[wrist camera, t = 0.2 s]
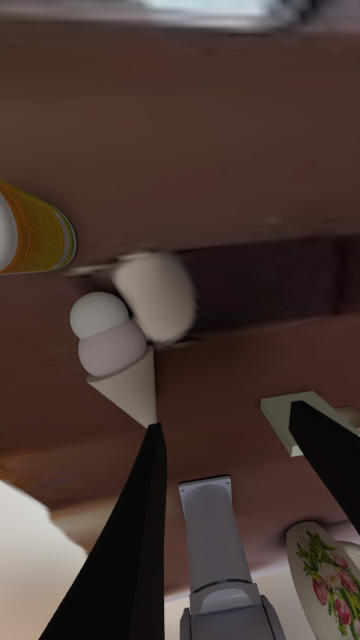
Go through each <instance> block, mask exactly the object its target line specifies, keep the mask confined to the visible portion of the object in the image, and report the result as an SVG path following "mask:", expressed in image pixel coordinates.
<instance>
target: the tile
mask: <svg viewBox="0 0 360 640" xmlns="http://www.w3.org/2000/svg"><path fill="white" fill-rule="evenodd" d="M299 400H303V401H305V402H306V403H308V404H309V405H311V406H313V407H314V408H316V409H317V410H319V411H320V412H322V413H323V414H325V415H326V416H328V417H330V418H331V419H333V420H334V421H336V422H337V423H339V424H341V425H342V426H344V427H345V428H347V429H348V430H350V431H352V432H353V433H355V434H356V435H358V436H360V432H359V431H358V430H357V429H356V428H355V427H353V426H352V425H351V424H350V423H349V422H348V421H347V420H346V419H344V418H343V417H342V416H341V415H340V414H339V413H338V412H336V411H335V410H334V409H333V408H332V407H331V406H330V405H329V404H327V403H326V402H325V401H324V400H323V399H322V398H321V397H320V396H318V395H317V394H316V393H315V392H314V391H310V392H303V393H297V394H290V395H284V396H278V397H271V398H265V399H261V406H260V408H261V410H262V411H263V413H264V414H265V416H266V418H267V419H268V421H269V422H270V424H271V425H272V427H273V429H274V430H275V432H276V433H277V435H278V436H279V438H280V440H281V441H282V443H283V444H284V446H285V447H286V449H287V451H288V452H289V454H290V455H291V457H292V456H299V455H303V453H302V452H301V450H300V449H299V447H298V445H297V444H296V442H295V440H294V438H293V437H292V435H291V433H290V431H289V430H288V427H289V417H290V408H291V402H292V401H299Z"/></svg>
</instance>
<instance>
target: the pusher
mask: <svg viewBox="0 0 360 640" xmlns="http://www.w3.org/2000/svg"><path fill="white" fill-rule="evenodd" d="M334 410H335V411H336V412H338V413H339V414H340V415H341V416H342V417H343V418H344V419H346V420H347V421H348V422H349V423H350V424H351V425H352V426H353V427H355V428H356V429H357V430H358V431H359V432H360V412H359V411H357V410H356V409H355V408H353V407H352V406H350V407H343V408H337V409H334Z"/></svg>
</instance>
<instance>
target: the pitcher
mask: <svg viewBox="0 0 360 640" xmlns="http://www.w3.org/2000/svg"><path fill="white" fill-rule="evenodd" d="M286 537H287V538H286V548H287V556H288V562H289V566H290V570H291V574H292V578H293V582H294V585H295V588H296V591H297V594H298V597H299V600H300V602H301V605H302V608H303V610H304V613H305V615H306V617H307V620H308V622H309V624H310V627H311V628H312V630H313V632H314V635H315V637H316V639H317V640H360V570H359V569H358V567H357V566H356V565H355V564H354V562H353V561H352V560H351V558H350V557H349V556H348V554H356V555H358V556H360V545H358V544H355V543H352V542H347V541H337V540H335V539H334V538H333V537H332V536H331V535H330V534H329V533H328V532H327V531H326V530H324V529H323V528H322V527H320V526H319V525H318V524H317V523H315V522H302V523H299V524H296V525H294V526H293V527H291V528H290V529H289V530H288V531H287V533H286Z"/></svg>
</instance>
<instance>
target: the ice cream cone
mask: <svg viewBox="0 0 360 640" xmlns="http://www.w3.org/2000/svg"><path fill="white" fill-rule="evenodd" d="M70 323H71V327H72V329H73V331H74V332H75V334H76V335H77V336H78V337H79V338H80V342H79V348H78V351H79V358H80V360H81V363H82V365H83V366H84V368H85V369H86V370H87V371H88V372H89V373H90V374H89V376H88V377H87V379H86V380H87V382H88V383H89V384H91V385H92V386H93V387H94V388H96V389H97V390H98V391H100V392H101V393H102V394H103V395H105V396H106V397H107V398H109V399H110V400H111V401H112V402H114V403H115V404H116V405H117V406H119V407H120V408H121V409H123V410H124V411H125V412H126V413H128V414H129V415H130V416H131V417H133V418H134V419H135V420H137V421H138V422H139V423H140V424H142V425H143V426H144V427H146V428H147V427H148V425H149V424H155V423H157V418H156V397H155V377H154V356H153V347H152V346H150V345H147V344H146V338H145V335H144V333H143V331H142V329H141V328H140V327H139V326H138V324H136V323H135V322H134V321H132V320H130V319H129V314H128V311H127V308H126V306H125V305H124V303H123V302H122V301H121V300H120V299H119V298H117V297H116V296H114V295H112V294H109V293H106V292H92V293H89V294H86V295H84V296H83V297H81V298H80V299H79V300H78V301H77V302H76V303H75V304H74V306H73V307H72V310H71V313H70Z"/></svg>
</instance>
